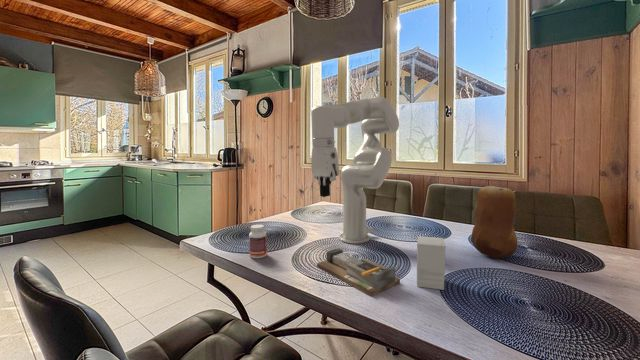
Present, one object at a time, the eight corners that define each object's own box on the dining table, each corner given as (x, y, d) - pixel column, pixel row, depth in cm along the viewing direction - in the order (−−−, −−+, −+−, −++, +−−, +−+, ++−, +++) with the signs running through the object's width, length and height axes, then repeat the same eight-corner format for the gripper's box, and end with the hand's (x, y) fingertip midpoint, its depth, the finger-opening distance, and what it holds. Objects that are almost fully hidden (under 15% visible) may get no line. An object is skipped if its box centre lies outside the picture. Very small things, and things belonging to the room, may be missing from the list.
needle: (379, 277, 86) (379, 265, 86) (384, 279, 85) (384, 267, 84) (359, 285, 82) (359, 272, 81) (364, 287, 80) (365, 274, 80)
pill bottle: (269, 256, 107) (268, 226, 106) (253, 260, 103) (252, 229, 102) (263, 251, 112) (262, 222, 111) (247, 254, 109) (246, 225, 107)
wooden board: (344, 258, 105) (344, 243, 104) (399, 283, 86) (400, 265, 85) (317, 266, 98) (316, 251, 97) (370, 296, 78) (370, 277, 78)
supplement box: (442, 279, 88) (444, 237, 86) (444, 290, 81) (446, 246, 79) (416, 275, 90) (417, 235, 89) (415, 286, 83) (417, 243, 82)
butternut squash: (512, 252, 108) (517, 184, 105) (519, 266, 96) (525, 190, 93) (469, 247, 114) (473, 182, 111) (471, 260, 102) (475, 187, 99)
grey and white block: (338, 256, 102) (338, 248, 101) (366, 269, 91) (366, 260, 91) (326, 260, 99) (326, 251, 98) (353, 274, 88) (353, 264, 88)
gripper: (346, 143, 98) (347, 197, 101) (318, 142, 109) (320, 191, 112) (329, 144, 93) (331, 201, 96) (301, 143, 105) (303, 194, 108)
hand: (325, 195), depth 104 cm, fingers closed
